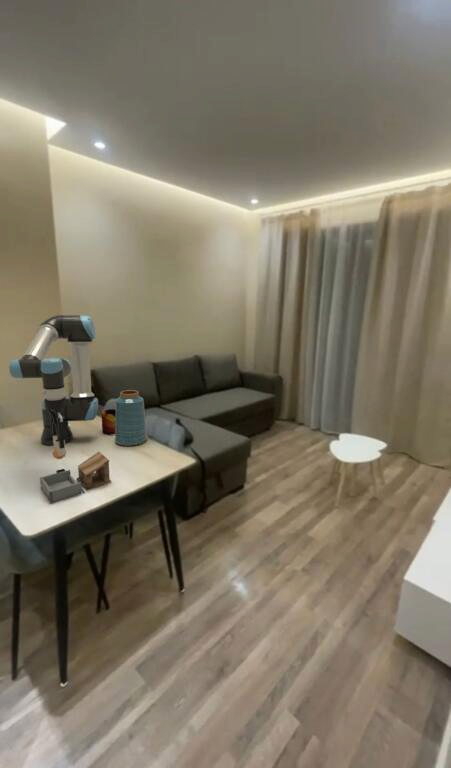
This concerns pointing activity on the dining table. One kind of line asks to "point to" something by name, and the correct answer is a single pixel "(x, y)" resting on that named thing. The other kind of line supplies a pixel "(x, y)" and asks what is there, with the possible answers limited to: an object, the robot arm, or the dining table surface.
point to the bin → (60, 486)
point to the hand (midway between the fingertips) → (60, 452)
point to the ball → (55, 454)
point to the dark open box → (60, 470)
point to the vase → (130, 419)
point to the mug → (108, 421)
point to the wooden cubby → (90, 466)
